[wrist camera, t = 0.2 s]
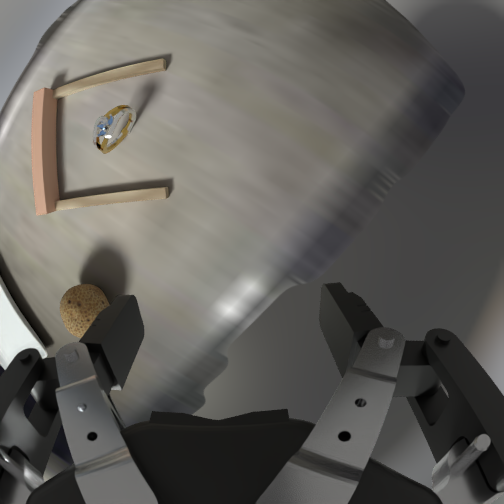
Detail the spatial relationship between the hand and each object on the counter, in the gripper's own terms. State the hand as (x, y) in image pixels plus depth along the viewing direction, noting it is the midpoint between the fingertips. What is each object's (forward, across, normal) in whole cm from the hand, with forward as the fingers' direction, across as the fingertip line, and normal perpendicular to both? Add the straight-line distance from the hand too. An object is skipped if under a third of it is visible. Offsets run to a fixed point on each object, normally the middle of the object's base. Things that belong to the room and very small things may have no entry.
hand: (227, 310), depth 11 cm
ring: (+29, +15, -11) cm, 35 cm away
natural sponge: (+29, +25, +14) cm, 40 cm away
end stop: (+30, +30, -12) cm, 44 cm away
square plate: (+30, +60, +20) cm, 70 cm away
